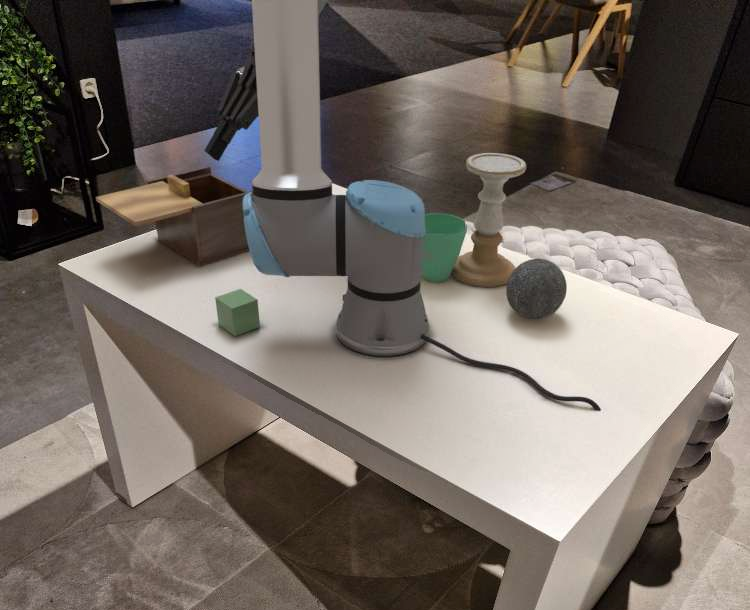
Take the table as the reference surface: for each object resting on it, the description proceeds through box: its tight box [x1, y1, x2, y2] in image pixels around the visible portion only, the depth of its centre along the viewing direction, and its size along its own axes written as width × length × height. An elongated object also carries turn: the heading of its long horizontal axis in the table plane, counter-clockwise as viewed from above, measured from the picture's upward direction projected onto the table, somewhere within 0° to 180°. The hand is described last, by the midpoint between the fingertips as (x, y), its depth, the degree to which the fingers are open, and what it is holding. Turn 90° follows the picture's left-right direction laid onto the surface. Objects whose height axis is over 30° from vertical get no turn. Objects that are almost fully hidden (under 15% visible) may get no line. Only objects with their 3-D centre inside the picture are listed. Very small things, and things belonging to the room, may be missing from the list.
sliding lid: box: [95, 174, 203, 227], centre depth 135 cm, size 15×14×3 cm
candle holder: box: [451, 152, 527, 288], centre depth 134 cm, size 12×12×20 cm
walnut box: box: [145, 165, 253, 267], centre depth 144 cm, size 18×14×11 cm
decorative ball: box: [505, 258, 568, 321], centre depth 125 cm, size 10×10×10 cm
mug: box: [421, 212, 468, 283], centre depth 137 cm, size 15×10×10 cm
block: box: [214, 288, 261, 337], centre depth 122 cm, size 5×5×5 cm
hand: (211, 155), depth 139 cm, fingers closed
